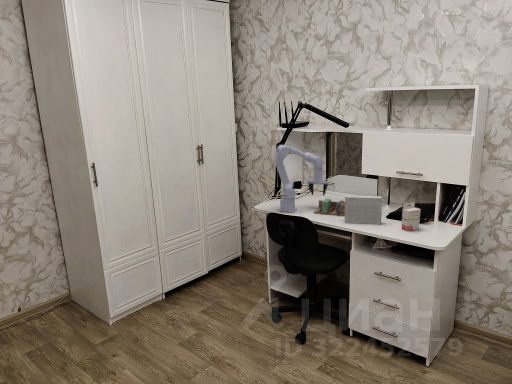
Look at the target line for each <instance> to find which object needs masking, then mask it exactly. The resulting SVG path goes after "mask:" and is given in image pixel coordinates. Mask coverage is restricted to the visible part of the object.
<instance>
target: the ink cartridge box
mask: <svg viewBox="0 0 512 384" xmlns="http://www.w3.org/2000/svg"><path fill="white" fill-rule="evenodd" d="M402 205H403V206H402V214H401V217H402V218H401V229H402V230H403V229H404V231H406V232H410V231H415V229H417V230H419V229H420V220H421V208H418V207H415V205H416V202H415V201H413V202H408V203H407V202H406V203H403V204H402Z"/></svg>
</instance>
